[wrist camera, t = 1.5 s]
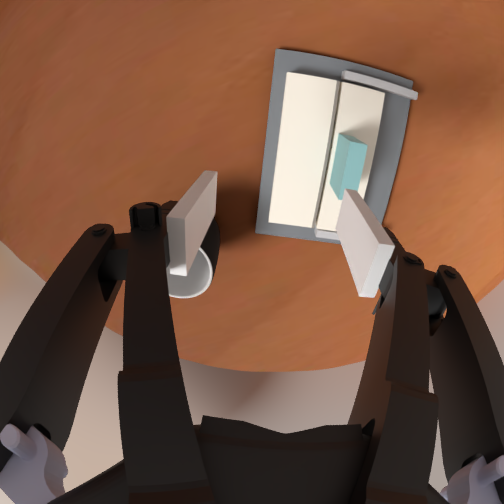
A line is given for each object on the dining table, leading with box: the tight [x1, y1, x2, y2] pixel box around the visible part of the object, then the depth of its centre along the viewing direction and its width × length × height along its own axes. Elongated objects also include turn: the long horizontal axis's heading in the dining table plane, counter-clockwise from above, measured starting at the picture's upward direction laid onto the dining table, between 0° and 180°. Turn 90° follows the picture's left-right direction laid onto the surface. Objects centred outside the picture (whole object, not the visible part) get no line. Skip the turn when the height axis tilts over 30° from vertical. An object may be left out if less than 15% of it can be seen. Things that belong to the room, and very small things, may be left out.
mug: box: [166, 218, 220, 298], centre depth 36 cm, size 12×9×10 cm
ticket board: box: [255, 49, 418, 244], centre depth 31 cm, size 24×17×4 cm
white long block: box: [315, 82, 385, 231], centre depth 28 cm, size 18×5×7 cm, turn 175°
